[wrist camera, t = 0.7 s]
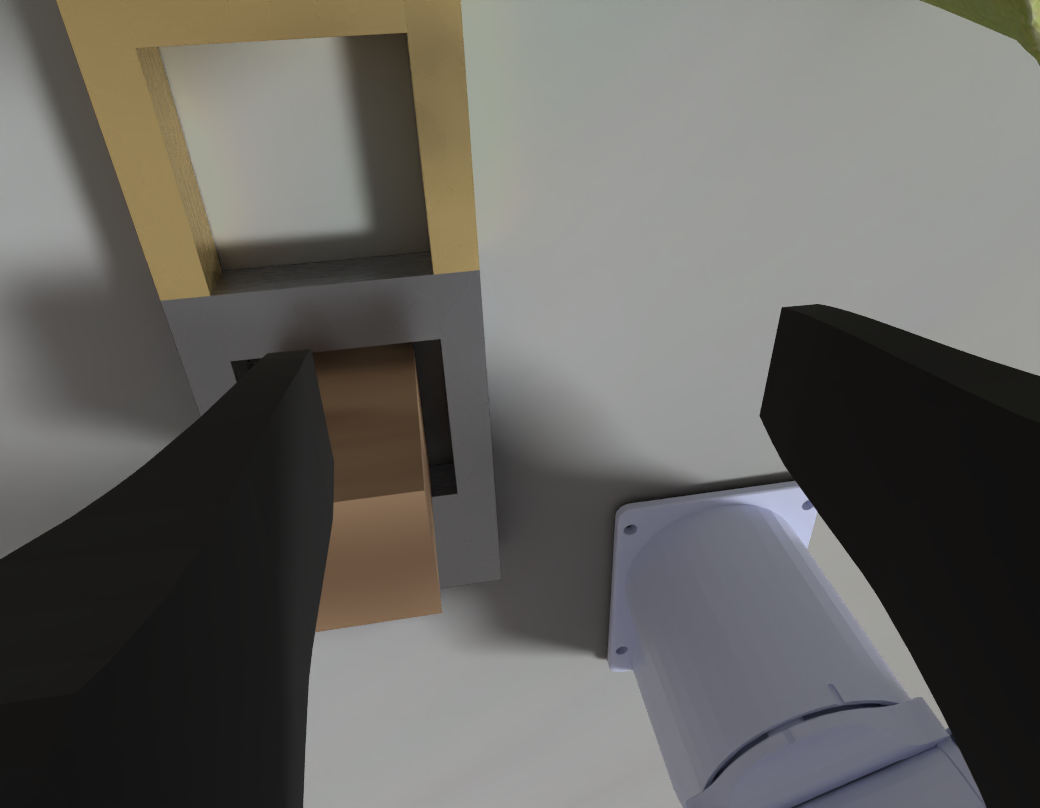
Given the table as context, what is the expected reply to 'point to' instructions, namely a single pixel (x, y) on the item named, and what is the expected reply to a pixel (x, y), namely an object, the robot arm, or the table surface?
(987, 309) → the table surface
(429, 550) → the walnut block
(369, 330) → the tray
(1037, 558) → the robot arm
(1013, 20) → the plant pot
